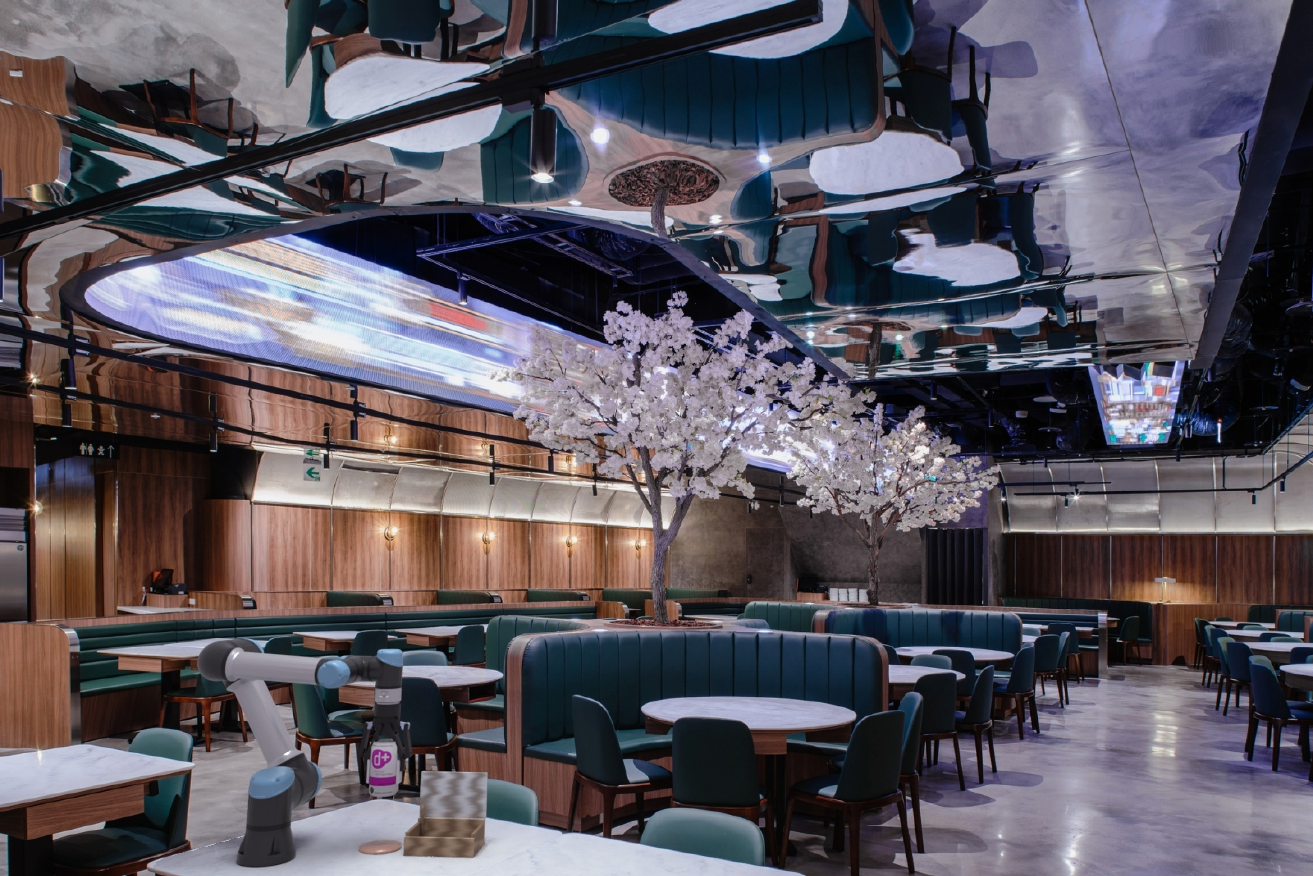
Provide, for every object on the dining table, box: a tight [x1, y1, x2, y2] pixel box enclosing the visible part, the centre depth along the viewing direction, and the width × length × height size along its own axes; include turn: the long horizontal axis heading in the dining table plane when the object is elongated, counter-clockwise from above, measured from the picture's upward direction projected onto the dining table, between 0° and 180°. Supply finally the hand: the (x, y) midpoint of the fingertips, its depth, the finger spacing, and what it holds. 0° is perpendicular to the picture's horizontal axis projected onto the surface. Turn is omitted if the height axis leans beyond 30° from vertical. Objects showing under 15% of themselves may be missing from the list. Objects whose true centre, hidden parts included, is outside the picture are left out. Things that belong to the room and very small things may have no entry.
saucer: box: [358, 839, 403, 856], centre depth 259 cm, size 12×12×1 cm
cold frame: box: [402, 770, 488, 859], centre depth 260 cm, size 20×14×20 cm
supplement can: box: [368, 738, 400, 798], centre depth 262 cm, size 8×8×15 cm
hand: (383, 782), depth 262 cm, fingers closed on supplement can, 8 cm apart
